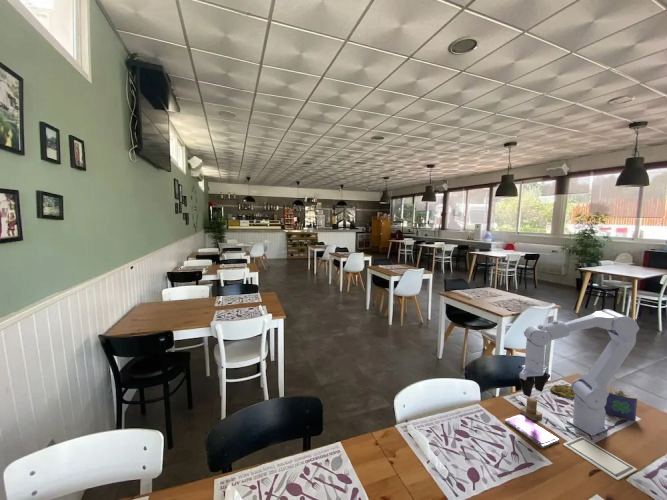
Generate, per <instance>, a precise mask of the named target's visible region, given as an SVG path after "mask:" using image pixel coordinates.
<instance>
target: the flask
mask: <svg viewBox="0 0 667 500" xmlns="http://www.w3.org/2000/svg"><path fill="white" fill-rule="evenodd" d="M608 392H609V395H608V397H607V403H606V405H605V407H604V408H605V411H606V414H605V415H607V416H610V417H615V418H618V419H622V418H623V420H627V421H631V422H632V421H634V422H635V421H636V419H637V406H638V398H637V397H636V396H635V395H633V394H632V395H631V394H626V393H625V391H624V390H623V389H619V390H618V391H615V390H613V391H612V389H609V390H608Z"/></svg>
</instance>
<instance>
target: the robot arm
mask: <svg viewBox="0 0 667 500" xmlns="http://www.w3.org/2000/svg"><path fill="white" fill-rule="evenodd" d="M593 328H599V329H600V328H601V329H604V330H606V331H607V333H608V335H609V337H610V341H609V342H608V344H607V345H606V347H605V348H604V349H603V351H602V352H601V354H600V355H599V357H598V358H597V360H596V361H595V362H594V364H593V366H592V367H591V369H590V370H589V371H588V373H587V374H581V375H579V377H578V378H577V379H575V380H574V381H572V382H571V385H570V386H571V389H572V391H573V392H574V393H575V395H574V396H575V397H574V399H573V412H572V418H569V419H566V422H567V423H568V424H570V425H573V426H574V427H576V428H577V429H579V430H581V431H583V432H585V433H586V434H588V435H590V436H595V435H597V434H600V433H602V432H605V431H607V430H608V427H606V426H605V424H606V415H607V414H606V411H605V408H604V407H605V405H606V403H607V397H608V395H609V392H608V384H609V383H610V381H611V380H612V378H613V376H615V374H616V373H617V371H618V370H619V368H620V367H621V365H622V364H623V362H625V360H626V358H627V357H628V355H629V354H630V352H631V351H632V350H633V348H634V347H635V345H636V342H637V333H638V332H639V330H640V326H639V324H638V323H637V322H636V320H635V319H634V318H632V317H631V316H627V315H624V314H621V313H620V312H616V311H614V310H613V309H607V308H606V309H605V308H604V309H602V310H596V311H594V312H593V313H590V314H588V315H585V316H582V317H579V318H576V319H572V320H569V321H567V322H566V321H565V322H563V321H561V320H556V319H555V320H552V321H551V322H549V323H546V324H538V326H534V325H530V326H528V327H527V328H526V329H525V330H524V331H523V335H524V336H525V338H526V345H525V361H524V365H523V364H522V365H521V368H522V371H520V372H519V373H518V374H517V376H516V377H517V379H518V381H519V383H520V385H521V389H522V393H523V395H524V396H526V397H527V398H528V397H530V398H531V396H532V392H533V387H534V388H535V390H536V391H538V392H540V393H542V392H543V390H544V388H545V385H546V384H547V381H548V380H549V379H550V377H551V374H549V372H548V371H549V370H548V369H549V367H548V366H547V365H545V354H546V353H545V351H546V350H545V349H546V345H548V343H549V342H550V341H554V340H558V339H561V338H566V337H569V336H570V334H571V332H572V333H573V332H575V331H577V332H578V331H582V330H586V329H593ZM531 377H533V380H532V378H531Z"/></svg>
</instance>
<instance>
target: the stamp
mask: <svg viewBox="0 0 667 500" xmlns="http://www.w3.org/2000/svg"><path fill="white" fill-rule="evenodd" d="M537 405H538V401H537V399H535V398H533V397H531V396H530V397H528V396H527V397H526V406H525V407H524V406H523V407H521V408H519V409H520V410H519V413H520V415H522V416H524V417H525V418H527V419H529V420H530V421H532V422H535V421H537V420H540V418H541V419H542V418H543V413H542V412H541V411H540V410H538V406H537Z"/></svg>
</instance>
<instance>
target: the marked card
mask: <svg viewBox="0 0 667 500" xmlns="http://www.w3.org/2000/svg"><path fill="white" fill-rule="evenodd" d="M562 445H563V446H564V447H565V448H567V449H568V450H570V451H571V452H573V453H574V454H576V455H577V456H579V457H580V458H582V459H584V460H585V461H587V462H589V463H590V464H592V465H594V466H595V468H598V469H599V470H600V471H602V472H604V473H605V474H606V475H609V476H610V477H611V478H613V479H615V480H616V481H620V480H621V479H624V478H625V477H627V476H630V475H631V474H632V473H633V474H634V473H635V472H636V471H638V468H636V467H635V466H633V465H631V464H629V463H628V462H626V461H624V460H622V459H621V458H620V457H618V456H616V455H614V454H613V453H611V452H609V451H607V450H605V449H604V448H602V447H600V446H599V445H597V444H596V443H594V442H592V441H591V440H589V439H587V438H585V437H584V436H579V437H576V438H574V439H572V440H568V441H567V442H564V443H563V444H562Z"/></svg>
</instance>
